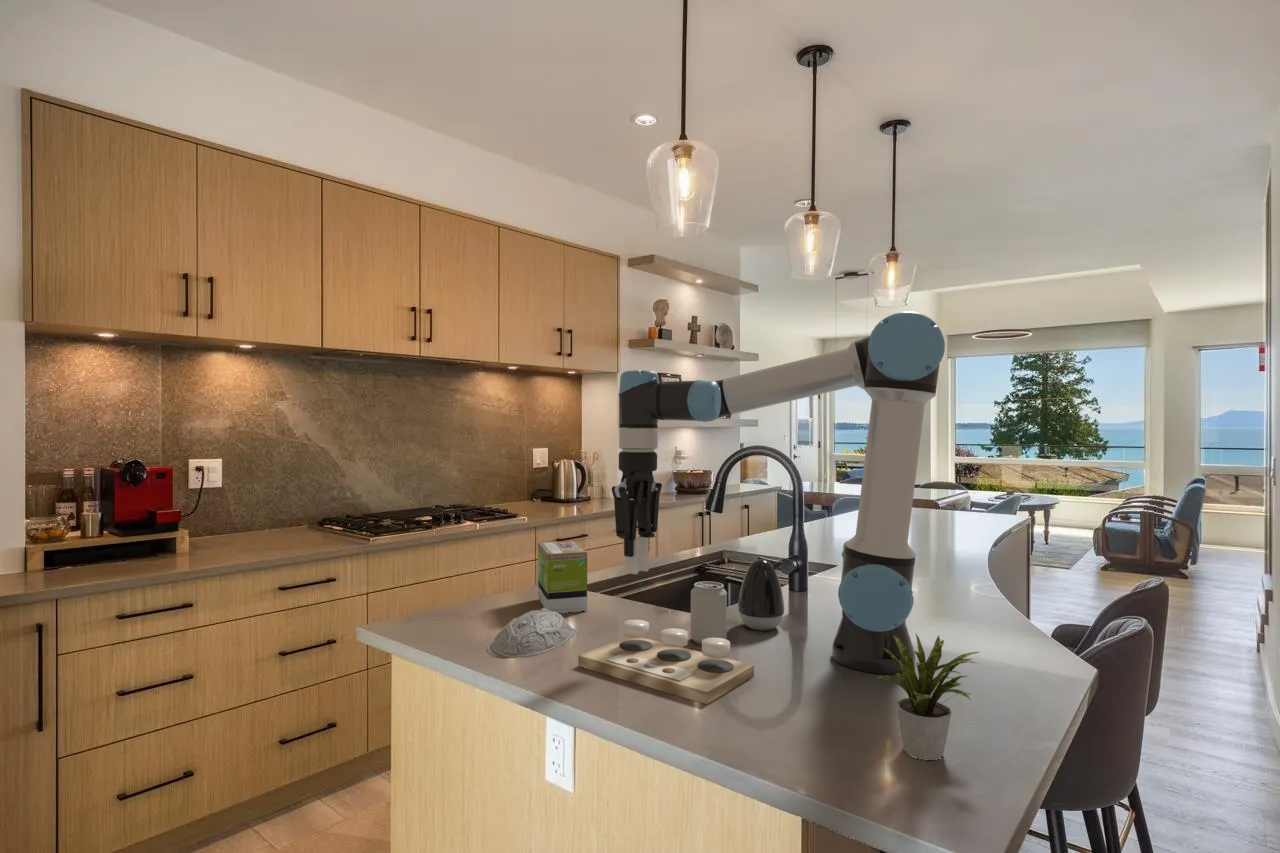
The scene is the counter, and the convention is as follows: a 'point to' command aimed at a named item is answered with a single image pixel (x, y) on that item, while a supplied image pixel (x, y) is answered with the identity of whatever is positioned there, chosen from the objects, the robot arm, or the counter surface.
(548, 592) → the tea box
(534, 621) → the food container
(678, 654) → the button board
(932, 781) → the counter surface
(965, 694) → the house plant
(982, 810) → the counter surface
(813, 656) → the counter surface
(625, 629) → the button
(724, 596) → the can
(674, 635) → the button
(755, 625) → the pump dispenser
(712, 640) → the button
